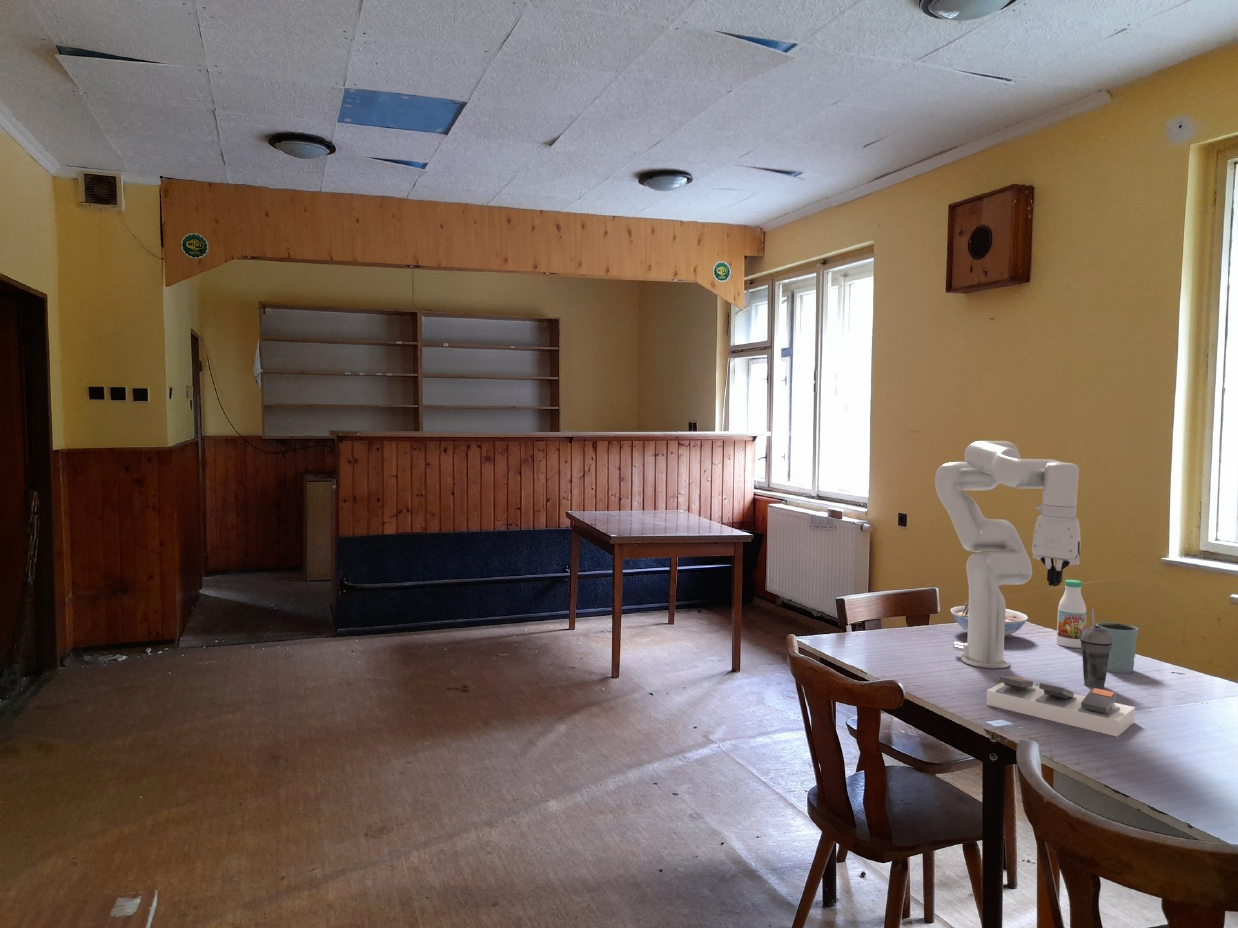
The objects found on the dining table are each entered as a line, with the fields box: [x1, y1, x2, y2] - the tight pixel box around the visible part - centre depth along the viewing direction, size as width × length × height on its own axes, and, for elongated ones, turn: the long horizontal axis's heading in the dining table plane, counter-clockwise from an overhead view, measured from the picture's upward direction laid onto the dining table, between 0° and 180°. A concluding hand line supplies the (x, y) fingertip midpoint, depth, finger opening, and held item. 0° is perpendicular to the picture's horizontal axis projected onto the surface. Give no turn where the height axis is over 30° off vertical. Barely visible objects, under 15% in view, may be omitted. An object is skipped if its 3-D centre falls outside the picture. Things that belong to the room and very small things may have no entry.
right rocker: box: [1081, 688, 1118, 713], centre depth 188 cm, size 5×8×2 cm, turn 135°
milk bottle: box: [1056, 579, 1087, 649], centre depth 259 cm, size 8×8×20 cm
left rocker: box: [998, 676, 1034, 690], centre depth 201 cm, size 5×8×2 cm, turn 135°
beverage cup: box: [1080, 608, 1112, 689], centre depth 218 cm, size 7×7×20 cm
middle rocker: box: [1038, 682, 1075, 699], centre depth 195 cm, size 5×8×2 cm, turn 135°
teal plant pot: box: [1095, 621, 1139, 674], centre depth 234 cm, size 10×10×12 cm
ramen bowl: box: [950, 600, 1029, 637], centre depth 269 cm, size 25×23×8 cm
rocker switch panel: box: [985, 682, 1136, 738], centre depth 196 cm, size 28×13×4 cm, turn 45°
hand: (1054, 584), depth 210 cm, fingers closed
